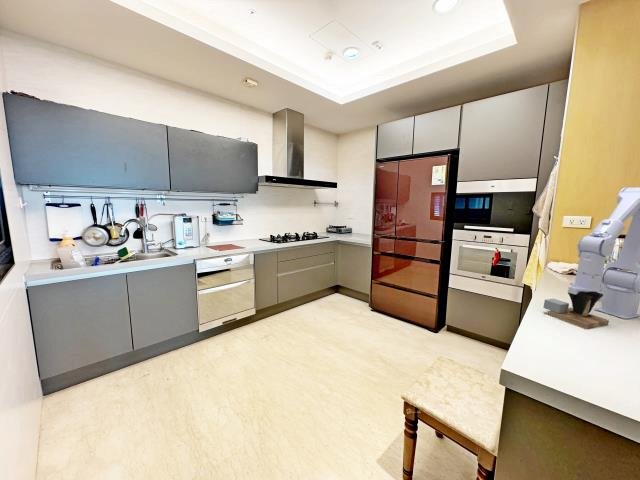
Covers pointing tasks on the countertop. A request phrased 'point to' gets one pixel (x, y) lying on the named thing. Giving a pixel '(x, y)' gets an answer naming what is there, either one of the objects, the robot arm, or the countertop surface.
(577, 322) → the board
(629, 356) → the countertop surface
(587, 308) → the peg
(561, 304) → the grey block
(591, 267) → the robot arm
